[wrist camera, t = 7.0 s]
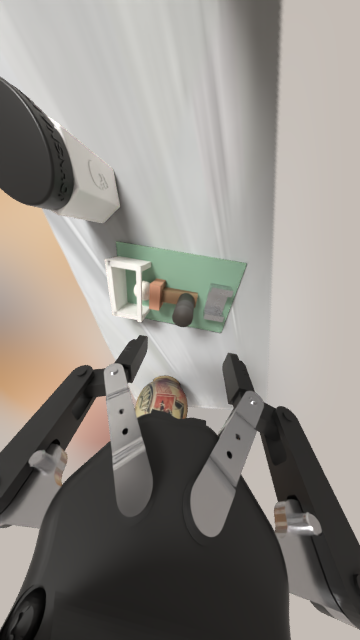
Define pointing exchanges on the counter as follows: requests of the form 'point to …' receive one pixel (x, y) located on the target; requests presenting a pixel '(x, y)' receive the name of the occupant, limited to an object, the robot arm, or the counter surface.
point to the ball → (144, 290)
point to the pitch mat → (182, 279)
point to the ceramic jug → (162, 398)
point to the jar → (50, 163)
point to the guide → (216, 302)
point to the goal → (125, 287)
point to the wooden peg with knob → (173, 301)
